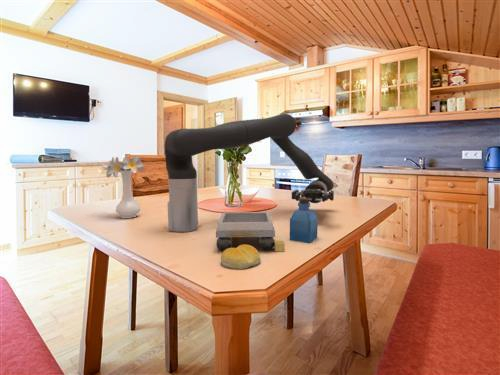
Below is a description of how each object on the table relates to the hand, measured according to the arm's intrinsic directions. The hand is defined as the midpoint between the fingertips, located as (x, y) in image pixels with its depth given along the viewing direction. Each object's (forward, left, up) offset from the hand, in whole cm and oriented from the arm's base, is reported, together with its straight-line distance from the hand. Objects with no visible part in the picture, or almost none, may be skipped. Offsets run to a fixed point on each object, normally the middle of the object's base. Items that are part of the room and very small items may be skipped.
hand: (310, 198), depth 94 cm
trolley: (-20, -15, -10) cm, 27 cm away
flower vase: (-70, +22, -11) cm, 74 cm away
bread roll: (-22, -29, -11) cm, 38 cm away
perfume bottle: (-4, -11, -11) cm, 16 cm away
